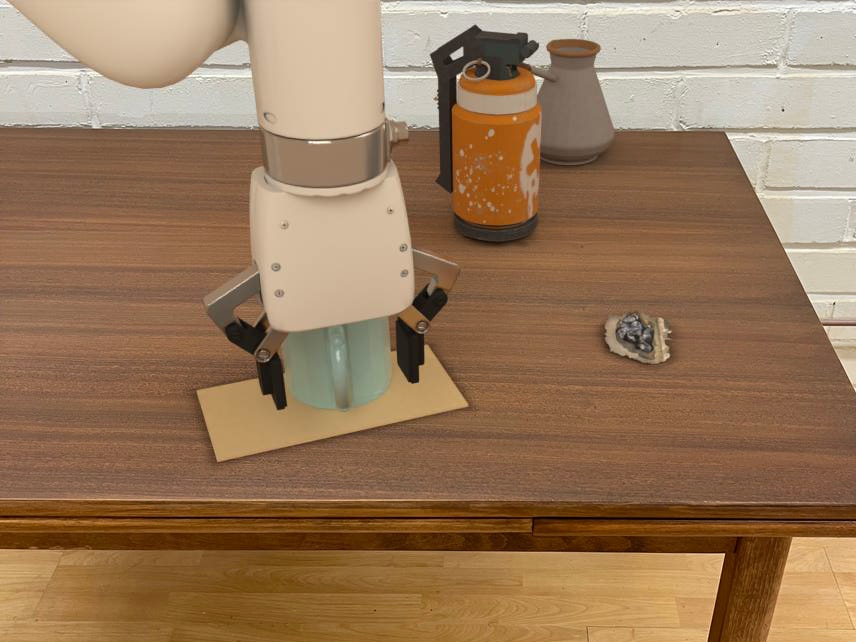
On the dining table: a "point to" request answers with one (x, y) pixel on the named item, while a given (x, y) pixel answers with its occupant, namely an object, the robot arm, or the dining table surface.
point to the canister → (489, 133)
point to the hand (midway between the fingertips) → (344, 386)
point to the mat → (318, 411)
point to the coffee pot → (572, 104)
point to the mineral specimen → (638, 336)
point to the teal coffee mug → (339, 364)
